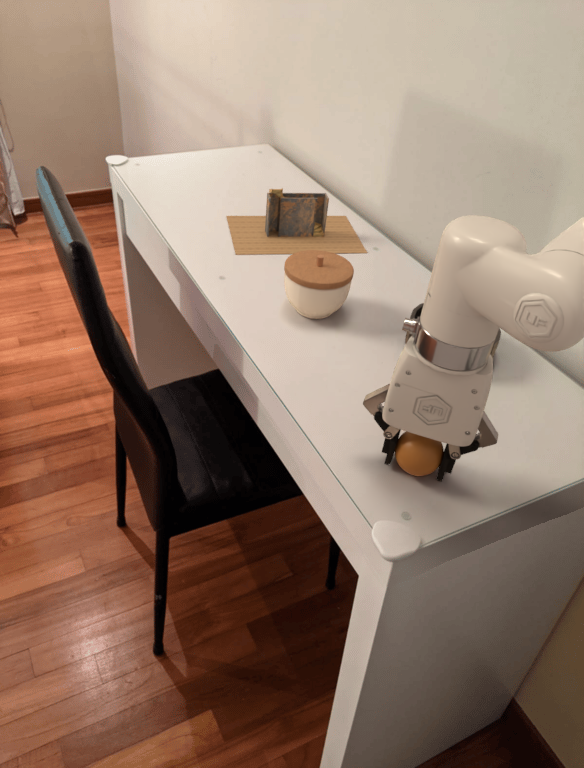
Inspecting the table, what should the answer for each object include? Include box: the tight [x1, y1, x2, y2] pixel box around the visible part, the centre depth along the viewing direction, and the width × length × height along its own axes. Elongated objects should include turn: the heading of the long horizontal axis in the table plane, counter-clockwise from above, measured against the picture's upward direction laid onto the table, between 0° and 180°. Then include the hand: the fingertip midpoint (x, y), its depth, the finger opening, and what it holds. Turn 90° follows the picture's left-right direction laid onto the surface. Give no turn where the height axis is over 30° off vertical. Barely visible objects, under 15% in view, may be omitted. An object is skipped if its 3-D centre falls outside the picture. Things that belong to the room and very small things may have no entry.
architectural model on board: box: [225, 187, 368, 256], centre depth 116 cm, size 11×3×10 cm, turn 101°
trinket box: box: [283, 250, 355, 320], centre depth 96 cm, size 11×11×9 cm
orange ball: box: [394, 431, 445, 477], centre depth 71 cm, size 6×6×6 cm
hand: (415, 463), depth 73 cm, fingers closed on orange ball, 5 cm apart
